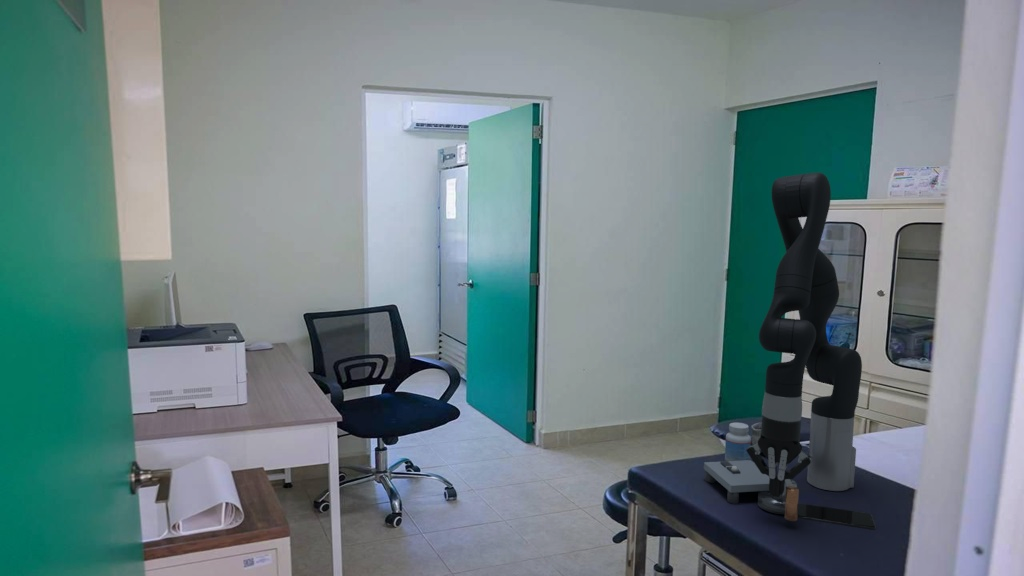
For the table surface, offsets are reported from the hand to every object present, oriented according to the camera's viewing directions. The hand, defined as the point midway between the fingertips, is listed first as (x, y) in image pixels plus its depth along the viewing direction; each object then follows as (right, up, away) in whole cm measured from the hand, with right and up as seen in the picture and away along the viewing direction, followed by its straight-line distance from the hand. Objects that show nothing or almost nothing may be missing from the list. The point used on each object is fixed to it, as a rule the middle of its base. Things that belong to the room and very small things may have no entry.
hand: (775, 495), depth 140 cm
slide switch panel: (-2, -4, +16) cm, 17 cm away
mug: (+14, -2, +39) cm, 42 cm away
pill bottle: (+2, -3, +29) cm, 30 cm away
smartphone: (+14, -6, +3) cm, 15 cm away
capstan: (+2, -5, +4) cm, 7 cm away
